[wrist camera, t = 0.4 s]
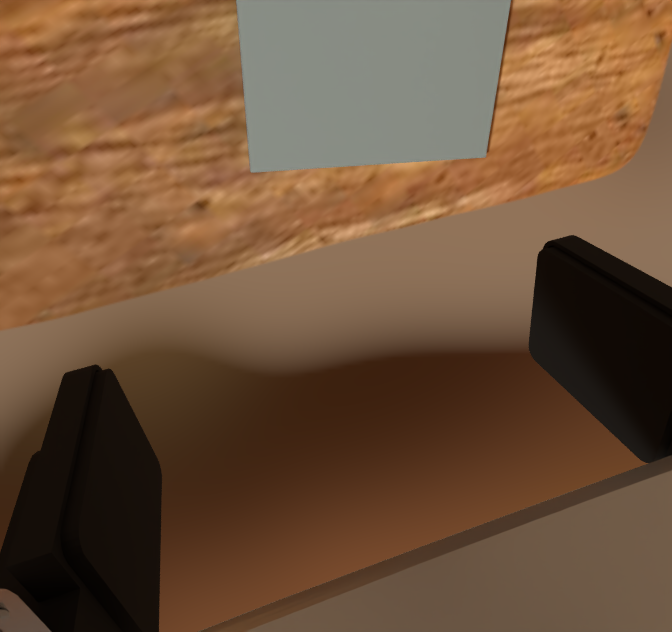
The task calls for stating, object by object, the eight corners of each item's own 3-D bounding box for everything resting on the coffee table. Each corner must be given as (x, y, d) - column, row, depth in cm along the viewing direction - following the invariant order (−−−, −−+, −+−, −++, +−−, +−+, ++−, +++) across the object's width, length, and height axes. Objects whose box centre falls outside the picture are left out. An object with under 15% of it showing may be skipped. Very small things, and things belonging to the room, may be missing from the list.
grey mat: (233, -38, 31) (234, -39, 30) (510, -28, 36) (515, -29, 35) (250, 170, 37) (251, 172, 37) (481, 155, 42) (485, 157, 42)
